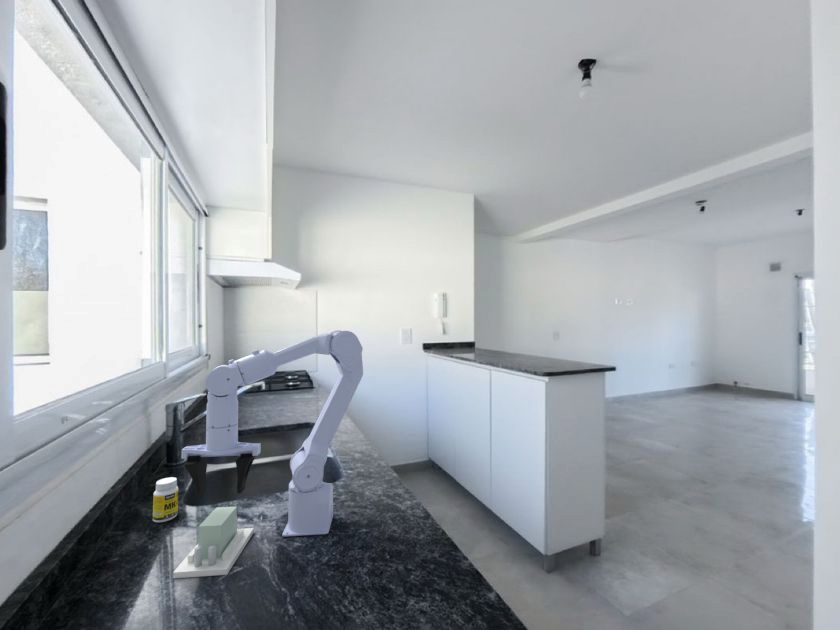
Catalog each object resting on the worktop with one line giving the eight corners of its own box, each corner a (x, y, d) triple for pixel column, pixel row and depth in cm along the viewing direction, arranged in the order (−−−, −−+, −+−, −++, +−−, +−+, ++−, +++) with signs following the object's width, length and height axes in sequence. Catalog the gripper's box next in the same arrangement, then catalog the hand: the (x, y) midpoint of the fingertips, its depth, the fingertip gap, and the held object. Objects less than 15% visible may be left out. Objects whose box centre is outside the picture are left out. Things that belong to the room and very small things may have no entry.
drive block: (236, 536, 73) (236, 506, 73) (220, 558, 66) (221, 525, 66) (215, 537, 73) (216, 507, 73) (197, 559, 66) (198, 526, 66)
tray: (253, 532, 76) (253, 513, 76) (226, 574, 63) (227, 551, 63) (209, 535, 75) (209, 515, 75) (172, 578, 62) (173, 554, 62)
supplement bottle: (164, 524, 79) (165, 486, 80) (147, 522, 80) (148, 484, 81) (182, 513, 84) (183, 477, 84) (166, 511, 85) (167, 475, 85)
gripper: (265, 418, 78) (264, 481, 77) (194, 420, 76) (193, 485, 75) (254, 427, 71) (253, 496, 70) (176, 430, 69) (174, 501, 68)
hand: (221, 492), depth 72 cm, fingers open, 7 cm apart
